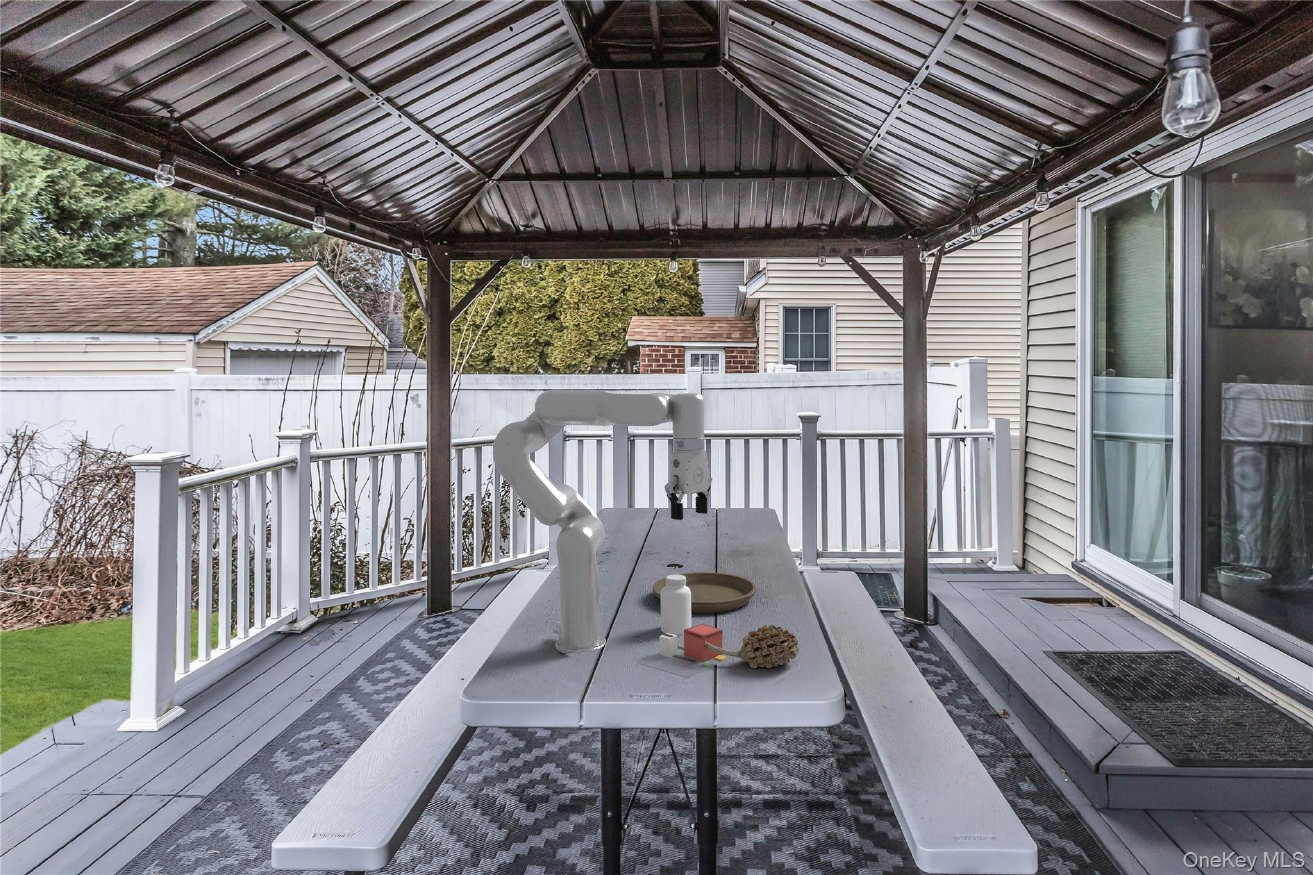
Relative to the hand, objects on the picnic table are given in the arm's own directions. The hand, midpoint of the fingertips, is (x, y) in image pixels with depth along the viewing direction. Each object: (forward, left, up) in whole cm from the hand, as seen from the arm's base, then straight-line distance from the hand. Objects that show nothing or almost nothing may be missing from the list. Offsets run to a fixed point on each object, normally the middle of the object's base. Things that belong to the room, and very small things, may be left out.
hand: (689, 516), depth 183 cm
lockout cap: (+5, -2, -32) cm, 33 cm away
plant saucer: (-23, +37, -34) cm, 55 cm away
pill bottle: (-11, +8, -34) cm, 36 cm away
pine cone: (+17, 0, -34) cm, 38 cm away
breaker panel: (+3, -6, -33) cm, 34 cm away
